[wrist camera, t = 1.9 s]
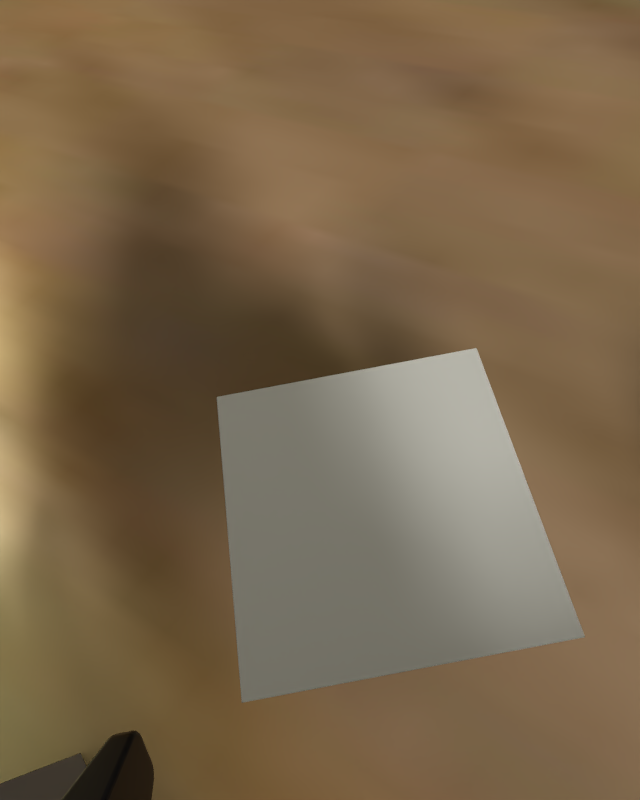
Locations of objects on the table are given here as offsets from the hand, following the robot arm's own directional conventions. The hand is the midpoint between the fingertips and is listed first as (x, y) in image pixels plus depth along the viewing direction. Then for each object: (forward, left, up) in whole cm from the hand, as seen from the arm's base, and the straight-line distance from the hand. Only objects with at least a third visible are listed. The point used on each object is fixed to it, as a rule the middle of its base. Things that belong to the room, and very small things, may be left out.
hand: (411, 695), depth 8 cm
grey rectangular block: (+3, -1, -6) cm, 6 cm away
